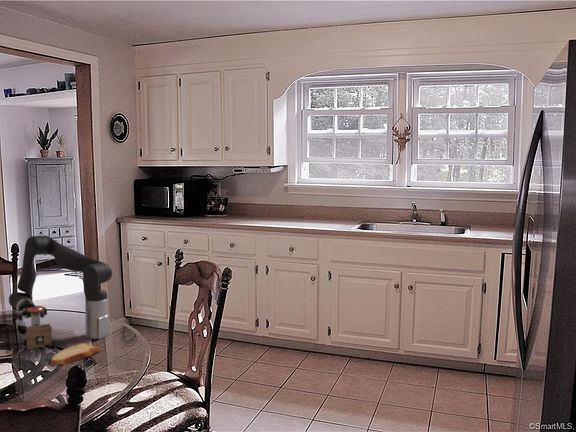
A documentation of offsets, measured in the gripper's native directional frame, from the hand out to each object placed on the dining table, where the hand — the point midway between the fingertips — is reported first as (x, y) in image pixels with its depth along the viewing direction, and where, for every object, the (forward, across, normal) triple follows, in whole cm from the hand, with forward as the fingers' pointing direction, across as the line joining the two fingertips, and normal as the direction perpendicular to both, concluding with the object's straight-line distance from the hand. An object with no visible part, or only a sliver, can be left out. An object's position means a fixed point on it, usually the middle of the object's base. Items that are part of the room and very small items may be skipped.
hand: (32, 317), depth 232 cm
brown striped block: (+17, 0, +8) cm, 18 cm away
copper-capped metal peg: (+13, 0, +8) cm, 15 cm away
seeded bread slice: (+36, +10, +9) cm, 38 cm away
